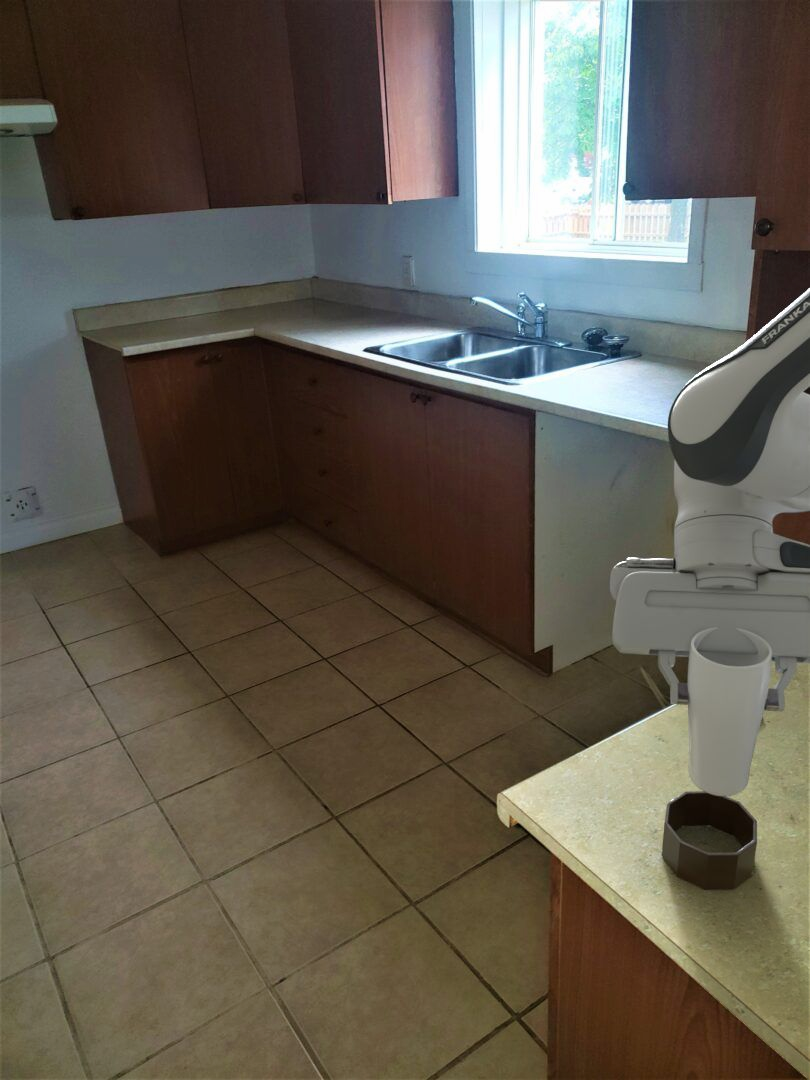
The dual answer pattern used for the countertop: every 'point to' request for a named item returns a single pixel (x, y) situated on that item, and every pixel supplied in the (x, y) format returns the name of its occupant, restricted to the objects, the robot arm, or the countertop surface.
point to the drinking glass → (725, 713)
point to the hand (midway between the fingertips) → (726, 707)
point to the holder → (697, 863)
